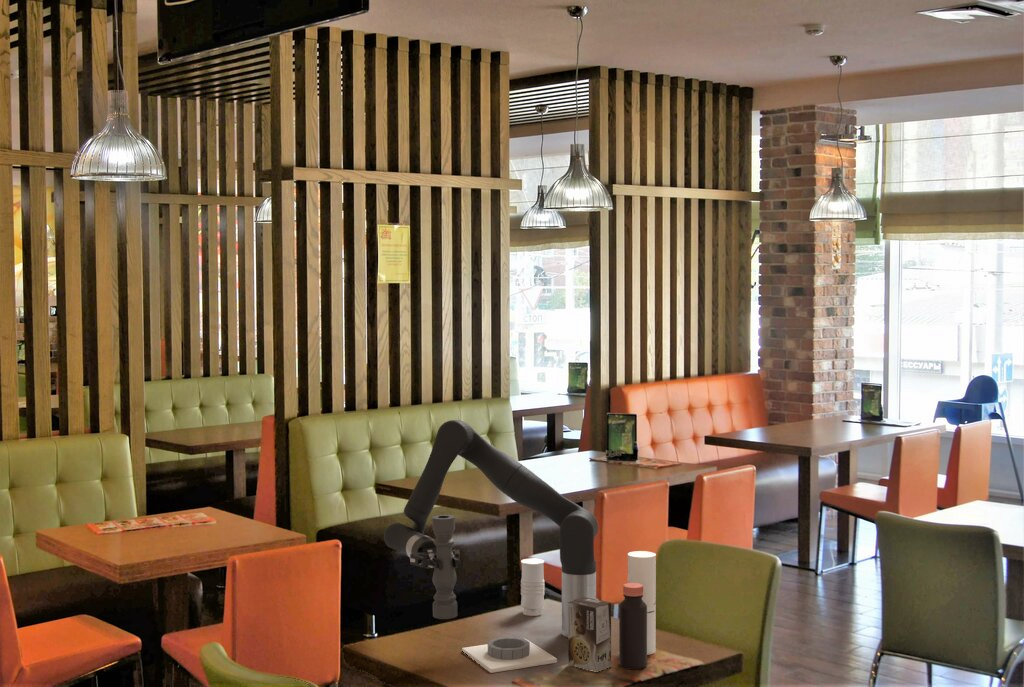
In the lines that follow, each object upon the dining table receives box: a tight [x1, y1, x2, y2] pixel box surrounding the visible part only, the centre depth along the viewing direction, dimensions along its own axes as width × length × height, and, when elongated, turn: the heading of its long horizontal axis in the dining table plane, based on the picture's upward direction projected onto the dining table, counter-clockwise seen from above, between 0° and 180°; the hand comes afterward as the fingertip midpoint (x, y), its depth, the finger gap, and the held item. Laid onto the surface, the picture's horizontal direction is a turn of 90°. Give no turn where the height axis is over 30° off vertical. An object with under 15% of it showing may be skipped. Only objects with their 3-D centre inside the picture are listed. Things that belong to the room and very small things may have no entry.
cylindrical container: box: [627, 550, 657, 656], centre depth 291 cm, size 7×7×25 cm
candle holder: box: [431, 514, 458, 620], centre depth 284 cm, size 6×6×25 cm
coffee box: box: [567, 597, 612, 672], centre depth 279 cm, size 9×6×16 cm
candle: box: [520, 557, 546, 617], centre depth 325 cm, size 7×7×15 cm
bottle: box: [618, 582, 648, 670], centre depth 279 cm, size 7×7×20 cm
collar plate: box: [461, 636, 558, 674], centre depth 286 cm, size 18×18×4 cm
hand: (448, 564), depth 282 cm, fingers closed on candle holder, 3 cm apart
